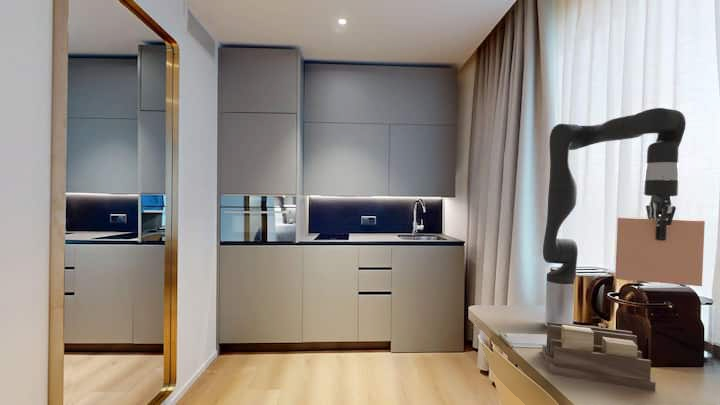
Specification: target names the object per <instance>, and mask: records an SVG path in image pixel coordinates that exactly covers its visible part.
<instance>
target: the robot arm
mask: <svg viewBox="0 0 720 405" xmlns="http://www.w3.org/2000/svg"><path fill="white" fill-rule="evenodd" d="M686 124H687V122H686V118H685V114H684V113H682V112H681V111H679V110H676V109H671V108H665V107H653V108H650V109H646V110H643V111H641V112H638V113H635V114H631V115H625V116H620V117H615V118H613V119H609V120H607V121H604V122H603V123H600V124H594V125H578V124H572V123H559V124H556V125H555V126H554V127H553V128H552V129H551V132H550V135H549V183H548V192H547V193H548V194H547V216H546V225H545V232H544V238H543V245H542V255H543V259H544V262H545V263H549V264H558V265H559V264H561V266H560V267H559V268H558V269H554V270H552V271H549V272H547V274H546V282H545V283H546V284H545V286H546V287H545V310H544V312H545V314H544V315H545V316H544V326H545V327H546V328H547V321H549V322H558V323H566V324H574V306H575V304H574V300H575V279H576V274H577V262H578V261H577V260H578V245H577V242H576V241H575V240H574V239H570V238H557V236H558V234H559V231H560V227H561V226H562V224H563V223H564V222H565V220H566V219H567V218H568V217H569V215H570V214H571V212H573V210H574V209H575V207H576V204H577V196H578V186H577V185H578V184H577V182H576V179H575V177H574V174H573V172H572V169H571V168H570V162H569V160H570V159H569V157H570V156H569V154H570V151H575V150H578V149H582V148H586V147H588V146H591V145H595V144H599V143H604V142H613V141H622V140H628V139H629V140H631V139H636V138H641V136H643V135H649V134H657V136H656V140H655V142H653V143H650V144H649V145H648V147H647V148H646V165H645V172H644V188H643V189H644V192H643V194H644V195H645V196H648V197H650V202H649V204H648V205H646V206H645V209H646V210H645V211H646V216H647V219H656V240H662V241H664V240H666V227H668V225H671V223H672V220H674V215H675V212H676V209H677V208H676V206H675V205H672V200H671V197H677V196H678V194H679V177H680V176H679V174H680V173H679V172H680V170H679V148H680V145H681V142H682V140H683V136H684V134H685V130H686ZM663 220H664V221H663Z"/></svg>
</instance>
